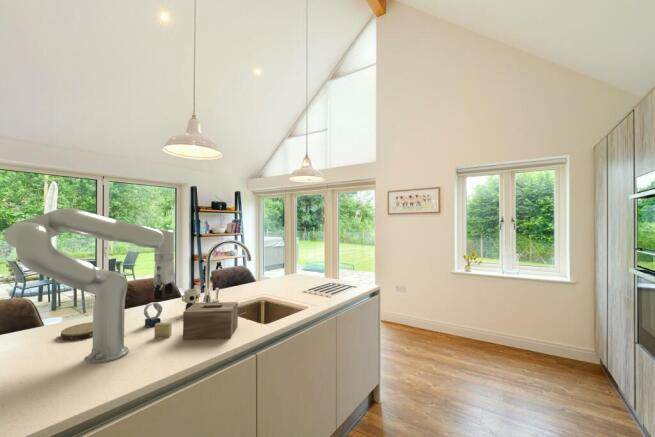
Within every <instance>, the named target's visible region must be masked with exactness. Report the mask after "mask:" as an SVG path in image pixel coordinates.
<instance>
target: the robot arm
mask: <svg viewBox="0 0 655 437" xmlns="http://www.w3.org/2000/svg"><path fill="white" fill-rule="evenodd" d="M63 233H70V234H73V235H80V236H84V237H89V238H93V239H98V240H102V241H109V242H115V243H116V242H117V243H118V242H119V243H128V244H134V245H135V246H136V247H139V248H150V249H154V254H153V255H154V259H153V260H154V269H153V270H154V273H153V281H152V284H153V291H154V292H153V293H154V294H153V296H154V298H153V299H154V300H163V298H164V294H165V295H169V294H170V295H172V294H173V293H174V281H175V280H176V279H175V278H176V277H175V276H176V275H175V272H176V271H175V263H174V262H175V259H174V258H175V232H174V231H173V230H172V229H157V228H156V229H155V228H153V227H147V226H144V225H140V224H137V223H132V222H128V221H124V220H121V219H115V218H111V217H108V216H104V215H101V214H98V213H93V212H92V211H91V212H90V211H86V210H82V209H81V208H80V209H78V208H74V207H73V208H71V207H67V208H59V209H55V210H52V211H49V212H46V213H44V214H41V215H38V216H35V217H32V218H27V219H25V220H22V221H19V222H17V223H14V224H12V225H10V226H8V228H7V229H5V231H4V235H3V238H4V242H5V243H7V244H8V245H9V246H10V247H13V248H15V251H16V252H15V254H16V257H17V258H18V260H19V262H20V263H21V265H23V266H24V267H25V268H26V269H28V270H30V271H31V272H34V273H36V274H39V275H41V276H44V277H47V278H50V279H53V280H54V281H55V282H56V283H58V284H60V285H63V286H66V287H70V288H73V289H75V290H78V291H82V292H85V293H88V294H92V295H95V299H94V304H93V309H92V322H93V337H92V348H91V351H90V353H89V354H88V355H87V356H85V357H84V358H83V361H84V362H85V363H88V362H89V363H92V364H100V363H108V362H111V361H114V360H117V359H120V358H121V357H124V356H125V355H127V354H128V353H129V349H130V348H129V346H126V345H125V304H126V297H127V296H126V295H127V291H128V280H127V278H126V276H124V275H123V274H122V273H120V272H117V271H114V270H113V271H112V270H106V269H102V268H99V267H97V266H95V265H94V264H92V263H91V262H90V261H87V260H84V259H82V258H77V257H75V256H72V255H70V254H67V253H66V252H63V251H60V250H58V249H57V248H55V246H54V245H53V243H52V238H54V237H57V236H60V235H62V234H63ZM163 286H164V289H163ZM163 290H164V291H163Z"/></svg>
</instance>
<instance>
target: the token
mask: <svg viewBox="0 0 655 437" xmlns="http://www.w3.org/2000/svg"><path fill="white" fill-rule="evenodd" d="M172 323H173V322H171V321H170V322H169V321H167V322H160V323H156V324H155V327H154V337H153V338H154V339H170V337H172V327H173V326H172Z"/></svg>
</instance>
